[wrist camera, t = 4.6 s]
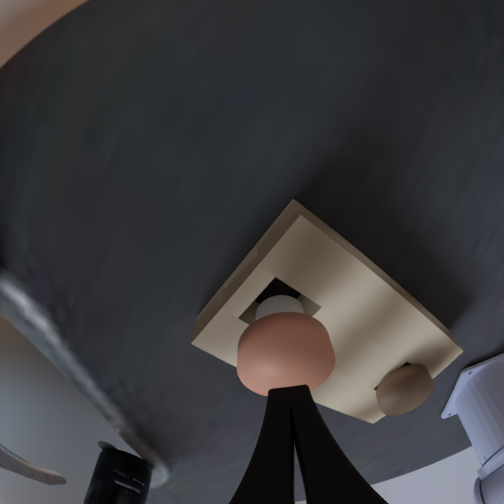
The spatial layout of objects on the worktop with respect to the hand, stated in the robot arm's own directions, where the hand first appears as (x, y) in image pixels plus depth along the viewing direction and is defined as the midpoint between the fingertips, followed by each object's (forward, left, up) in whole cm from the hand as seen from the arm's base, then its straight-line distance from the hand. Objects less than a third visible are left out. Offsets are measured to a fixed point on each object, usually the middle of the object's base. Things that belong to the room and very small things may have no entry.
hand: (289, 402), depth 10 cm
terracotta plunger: (0, 0, -5) cm, 5 cm away
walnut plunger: (-8, +8, -8) cm, 13 cm away
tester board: (-4, +4, -8) cm, 10 cm away
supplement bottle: (+20, +23, -8) cm, 32 cm away
